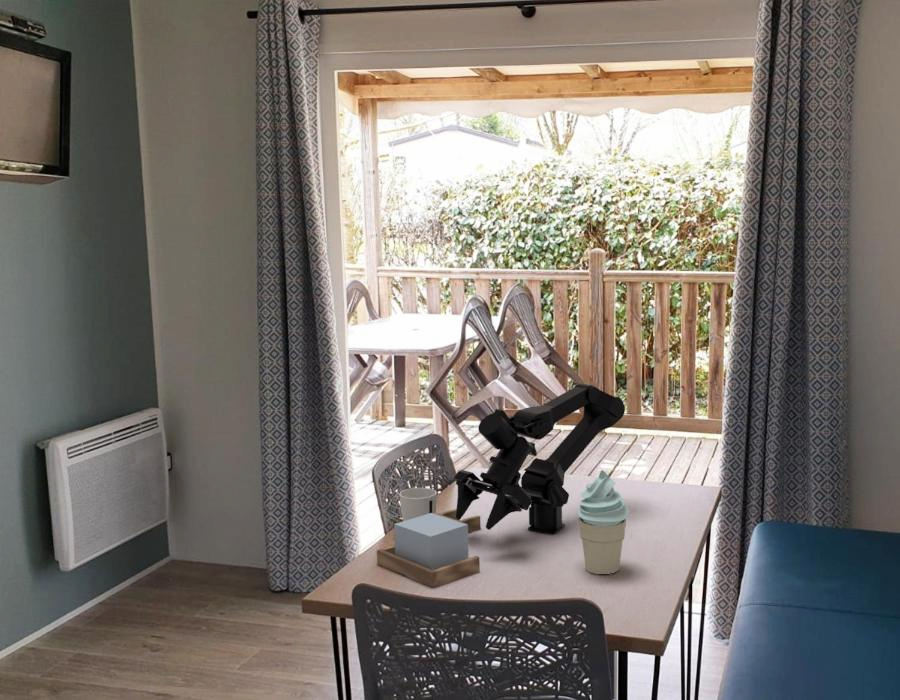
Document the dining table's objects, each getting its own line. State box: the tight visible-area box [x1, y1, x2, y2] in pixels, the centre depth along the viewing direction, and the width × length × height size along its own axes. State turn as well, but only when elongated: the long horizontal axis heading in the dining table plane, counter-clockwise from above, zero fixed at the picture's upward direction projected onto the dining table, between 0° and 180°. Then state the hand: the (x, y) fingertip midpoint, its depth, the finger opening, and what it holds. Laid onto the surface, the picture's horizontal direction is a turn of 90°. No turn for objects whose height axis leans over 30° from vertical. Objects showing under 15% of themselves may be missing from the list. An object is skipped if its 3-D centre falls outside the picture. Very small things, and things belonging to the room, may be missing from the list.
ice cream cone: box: [577, 469, 630, 575], centre depth 196 cm, size 10×11×20 cm
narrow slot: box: [436, 508, 481, 534], centre depth 224 cm, size 6×8×3 cm
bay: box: [376, 544, 481, 589], centre depth 200 cm, size 12×18×3 cm
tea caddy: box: [393, 513, 469, 570], centre depth 201 cm, size 12×12×9 cm
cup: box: [398, 487, 438, 522], centre depth 219 cm, size 8×8×10 cm
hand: (472, 523), depth 208 cm, fingers open, 9 cm apart
